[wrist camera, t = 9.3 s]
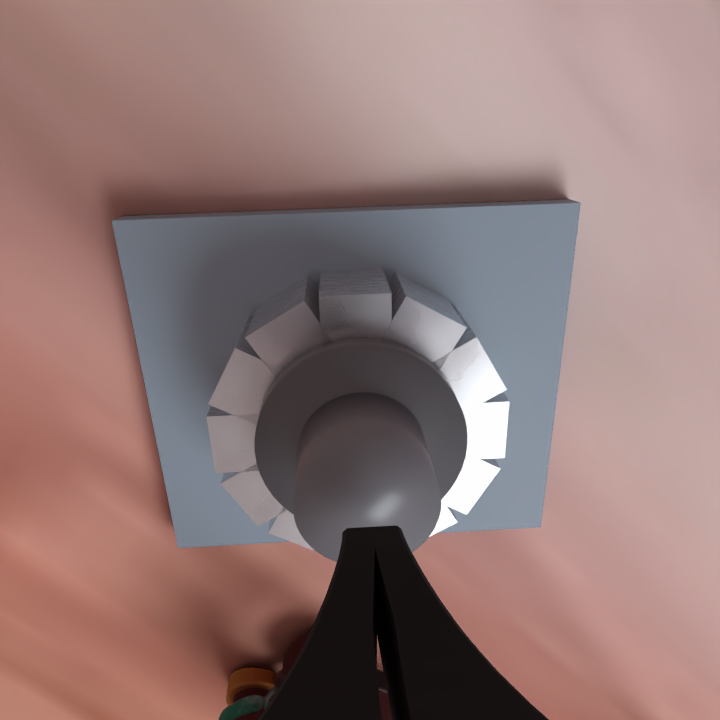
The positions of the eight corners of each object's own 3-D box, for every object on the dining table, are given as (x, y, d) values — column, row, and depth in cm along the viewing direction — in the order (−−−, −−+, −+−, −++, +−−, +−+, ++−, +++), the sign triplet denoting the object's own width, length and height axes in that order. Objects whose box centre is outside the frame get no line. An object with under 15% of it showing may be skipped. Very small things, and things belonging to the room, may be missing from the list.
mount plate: (569, 199, 20) (580, 202, 19) (533, 512, 25) (540, 527, 25) (121, 215, 19) (111, 220, 19) (183, 532, 25) (178, 548, 24)
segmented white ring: (490, 263, 20) (519, 287, 17) (476, 493, 24) (496, 546, 21) (209, 275, 19) (187, 302, 16) (242, 506, 23) (229, 561, 20)
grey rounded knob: (449, 307, 20) (505, 392, 14) (438, 465, 23) (481, 598, 16) (261, 309, 20) (228, 397, 13) (273, 469, 22) (249, 607, 16)
